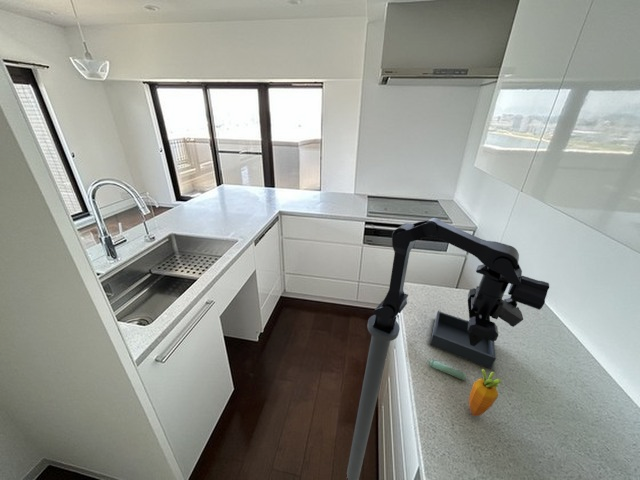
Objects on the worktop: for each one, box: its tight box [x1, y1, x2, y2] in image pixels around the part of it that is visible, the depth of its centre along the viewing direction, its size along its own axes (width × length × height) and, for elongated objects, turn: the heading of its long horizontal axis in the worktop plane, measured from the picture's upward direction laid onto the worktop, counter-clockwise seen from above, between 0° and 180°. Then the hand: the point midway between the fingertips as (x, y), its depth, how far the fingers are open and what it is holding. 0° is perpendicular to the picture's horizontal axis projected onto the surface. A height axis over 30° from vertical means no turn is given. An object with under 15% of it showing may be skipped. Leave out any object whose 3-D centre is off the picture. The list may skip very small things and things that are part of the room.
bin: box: [429, 310, 497, 370], centre depth 86 cm, size 18×14×5 cm
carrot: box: [468, 368, 502, 417], centre depth 62 cm, size 5×5×15 cm
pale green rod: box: [429, 359, 467, 381], centre depth 76 cm, size 10×2×2 cm, turn 61°
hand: (472, 334), depth 74 cm, fingers open, 9 cm apart
